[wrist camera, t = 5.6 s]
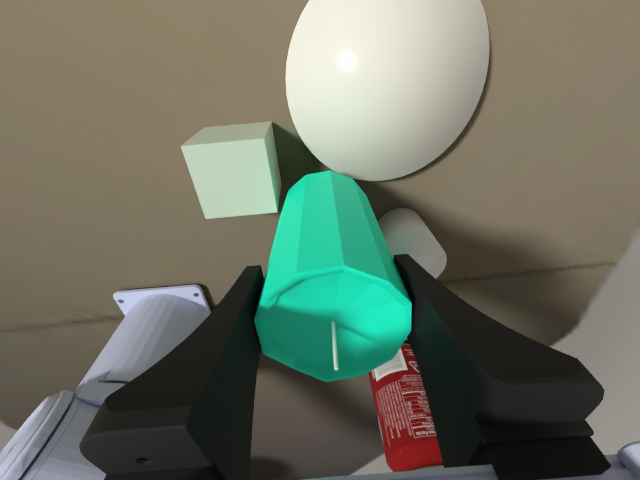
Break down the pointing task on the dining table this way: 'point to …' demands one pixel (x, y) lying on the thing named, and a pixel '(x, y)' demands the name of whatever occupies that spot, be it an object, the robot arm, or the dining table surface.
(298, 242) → the candle
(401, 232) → the grey cylinder
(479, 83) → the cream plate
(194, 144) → the sage block
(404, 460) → the soda can
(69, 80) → the dining table surface
